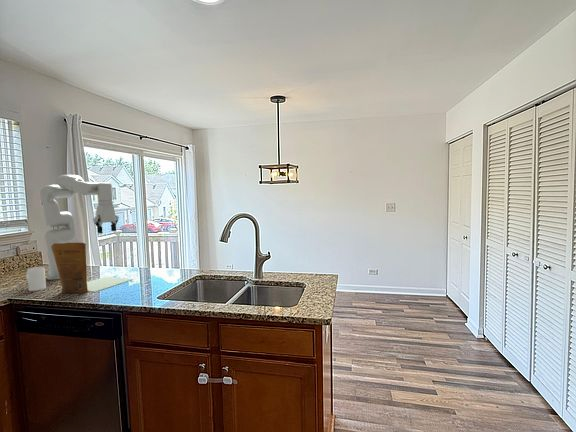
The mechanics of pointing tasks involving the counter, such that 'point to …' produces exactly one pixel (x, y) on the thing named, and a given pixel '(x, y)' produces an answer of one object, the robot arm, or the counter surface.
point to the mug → (36, 278)
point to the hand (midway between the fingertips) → (107, 232)
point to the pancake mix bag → (71, 266)
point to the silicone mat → (105, 283)
